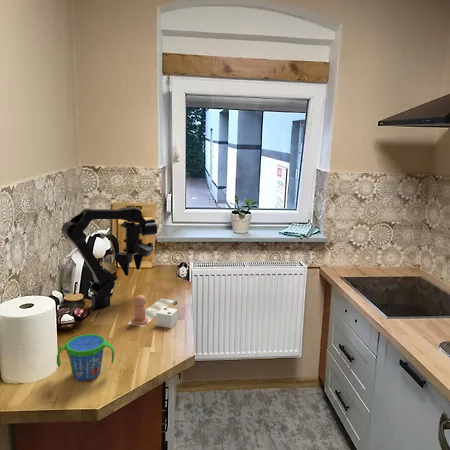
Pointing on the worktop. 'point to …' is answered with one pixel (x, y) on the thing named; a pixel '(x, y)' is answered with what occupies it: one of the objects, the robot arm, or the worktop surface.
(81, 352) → the snack cup
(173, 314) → the die
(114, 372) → the worktop surface
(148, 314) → the board
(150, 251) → the robot arm
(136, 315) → the pawn
